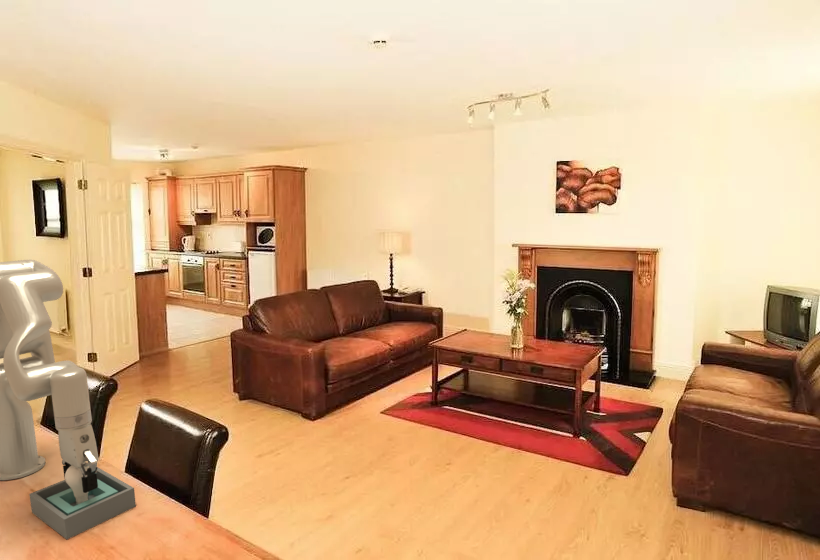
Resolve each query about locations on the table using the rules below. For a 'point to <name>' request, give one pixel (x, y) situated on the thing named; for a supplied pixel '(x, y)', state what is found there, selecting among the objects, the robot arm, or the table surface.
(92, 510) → the open box
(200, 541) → the table surface
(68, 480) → the lightbulb
